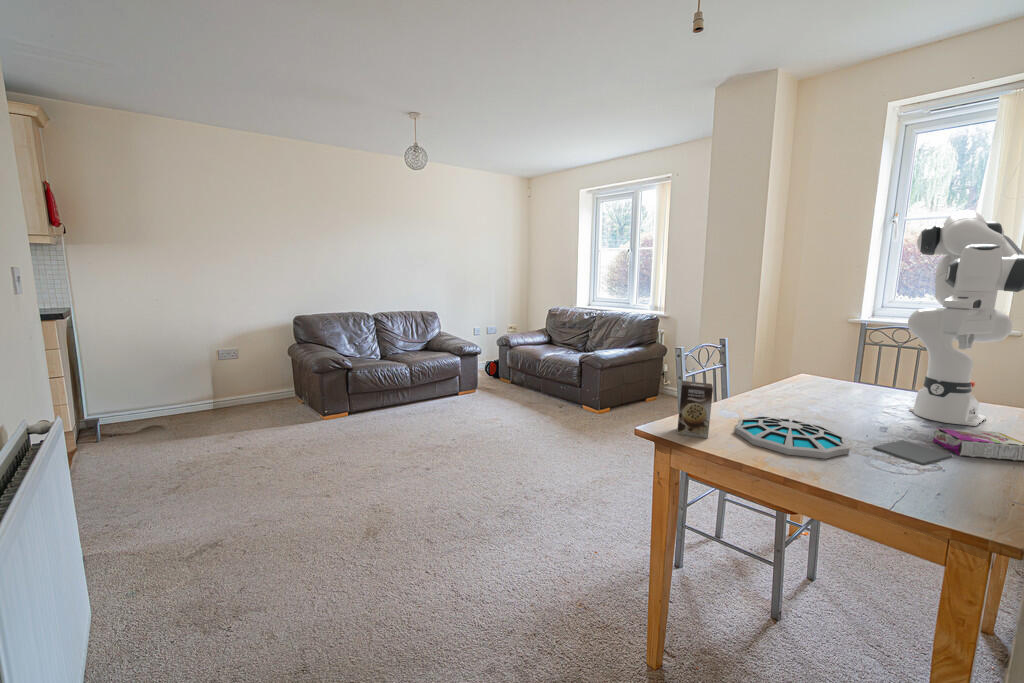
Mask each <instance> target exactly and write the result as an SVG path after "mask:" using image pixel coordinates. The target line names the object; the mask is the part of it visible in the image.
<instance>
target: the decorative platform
mask: <svg viewBox="0 0 1024 683" xmlns="http://www.w3.org/2000/svg"><path fill="white" fill-rule="evenodd" d="M734 433H735V434H736V435H737V436H740V437H742V438H743V439H744V440H746V441H747V442H749V443H750V444H752V445H753V446H757V447H761V448H765V449H768V450H771V451H775V452H778V453H781V454H783V455H786V456H796V457H797V456H798V457H799V456H800V457H808V458H817V459H825V460H826V459H830V458H834V457H839V456H846V455H847V456H848V455H849V454H850V447H849V446H848V444H847V437H845V436H843V435H840V434H838V433H835V432H834V431H831V430H829V429H827V428H826V427H824V426H821V425H818V424H813V423H808V422H802V421H799V420H796V419H792V418H783V417H781V418H780V417H772V416H766V415H765V416H761V415H759V416H754V417H750V418H740V419H738V423H737V425H736V426H735V428H734Z"/></svg>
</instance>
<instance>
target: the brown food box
mask: <svg viewBox="0 0 1024 683" xmlns="http://www.w3.org/2000/svg"><path fill="white" fill-rule="evenodd" d="M713 386H714V385H713V384H712V383H707V382H699V381H698V382H697V381H688V380H687V381H686V380H682V381H681V386H680V396H679V397H680V398H679V407H678V408H679V409H678V418H677V430H676V433H677V435H680V436H681V435H682V436H688V437H695V438H700V439H701V438H702V439H709V432H710V431H709V430H710V422H711V411H712V400H713V392H714V387H713Z"/></svg>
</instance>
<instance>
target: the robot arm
mask: <svg viewBox="0 0 1024 683" xmlns="http://www.w3.org/2000/svg"><path fill="white" fill-rule="evenodd" d="M916 245H917V249H918V250H919V252H920V253H921V254H922V255H925V256H934V255H936V256H937V255H938V256H941V255H943V256H942V257H941V259H939V261H938V263H937V264H938V265H937V267H936V271H935V277H934V278H935V280H934V282H935V286H934V287H935V293H934V294H935V299H936V301H937V302H938V304H940V306H941V305H942V307H928V308H927V307H926V308H919V309H917V310H915V311H913V312H912V313H911V315H910V316H909V318H908V321H907V327H908V330H909V331H910V333H911V334H912V335H913V336H915V337H916V338H918V339H919V341H920V342H922V344H923V345H924V346H925V349H926V350H927V354H928V355H927V356H928V363H927V373H926V376H924V379H923V388H921V389H918V391H917V394H916V397H915V401H914V406H911V407H909V409H908V410H909V411H911V412H912V413H914V415H915V416H918V417H921V418H924V419H927V420H931V421H935V422H940V423H945V424H953V425H963V426H964V425H965V426H971V427H976V426H979V425H980V424H981V423H983V422H984V421H986V420H985V419H987V416H985V415H982V414H979V412H978V411H979V405H980V404H979V403H980V402H979V401H978V400H977V399H976V398H975V396H974V395H973V394H972V391H973V390H972V388H975V386H976V382H975V381H971V378H972V372H973V367H974V361H973V358H972V357H971V356H970V355H968V354H967V353H965V352H963V351H962V350H971V349H972V348H973V343H994V342H1001V341H1003V340H1005V339H1006V338H1007V337H1009V335H1010V334H1011V332H1012V329H1013V322H1012V320H1011V318H1010V317H1009V316H1008V315H1007V313H1004V312H1003V311H999V310H997V309H996V308H995V307H996V301H997V297H998V293H999V291H1004V292H1012V293H1019V292H1021V291H1023V290H1024V252H1023V251H1022V249H1020V248H1019V247H1018V245H1016V243H1015V242H1014V241H1013V240H1012V239H1011V238H1010V237H1009V236H1007V235H1005V231H1004V229H1003V227H1002V224H1001V223H1000V222H998V221H993V220H992V221H991V220H985V219H984V217H983V216H982V215H981V214H980V213H978V212H977V211H975V210H972V209H964V210H958V211H955V212H954V213H952V214H949V216H948V217H946V219H945V221H944V224H941V225H937V224H936V225H933V226H929V227H927V228H924V229H923V230H922V231H921V232H920V234H919V235H918V237H917V242H916ZM954 341H957V342H958V349H956V348H954V346H953V342H954ZM983 420H984V421H983ZM982 421H983V422H982ZM979 423H980V424H979Z"/></svg>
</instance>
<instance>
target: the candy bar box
mask: <svg viewBox="0 0 1024 683" xmlns="http://www.w3.org/2000/svg"><path fill="white" fill-rule="evenodd" d="M934 429H935V430H934V434H933V440H932V442H933V443H934V444H936V445H938V446H940V447H941V448H944V449H945V450H948V451H950V452H951V453H953V454H955V455H957V456H958V457H959V456H960V457H970V458H979V459H980V458H982V459H983V458H984V459H994V460H995V459H996V460H1005V461H1019V462H1024V442H1023V441H1021V440H1019V439H1016V438H1013V437H1011V436H1008V435H1006V434H1004V433H1001V432H999V431H983V430H971V429H969V430H968V429H955V428H942V427H935V428H934Z"/></svg>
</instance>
